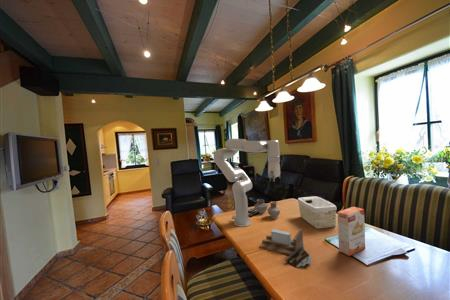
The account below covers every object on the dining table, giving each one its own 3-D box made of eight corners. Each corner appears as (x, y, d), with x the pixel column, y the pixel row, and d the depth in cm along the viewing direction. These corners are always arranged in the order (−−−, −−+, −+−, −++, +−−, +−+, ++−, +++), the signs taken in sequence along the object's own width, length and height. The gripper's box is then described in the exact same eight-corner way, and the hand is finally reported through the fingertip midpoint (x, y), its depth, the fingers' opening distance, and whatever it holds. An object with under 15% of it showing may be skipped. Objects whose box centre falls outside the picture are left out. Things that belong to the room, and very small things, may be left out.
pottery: (274, 221, 141) (273, 205, 140) (251, 212, 162) (250, 198, 161) (284, 217, 147) (283, 202, 146) (261, 209, 168) (260, 195, 167)
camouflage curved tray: (294, 272, 86) (311, 251, 87) (283, 260, 92) (299, 241, 93) (303, 278, 90) (319, 258, 91) (292, 266, 97) (307, 247, 97)
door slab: (271, 243, 109) (271, 231, 108) (273, 240, 111) (273, 229, 111) (289, 247, 103) (288, 235, 103) (291, 245, 105) (290, 232, 105)
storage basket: (339, 227, 124) (337, 205, 124) (315, 230, 123) (314, 207, 122) (317, 214, 148) (316, 195, 148) (297, 216, 146) (296, 197, 146)
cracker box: (350, 257, 93) (348, 214, 92) (338, 251, 98) (336, 211, 98) (366, 248, 99) (364, 208, 98) (354, 243, 105) (352, 205, 104)
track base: (259, 247, 107) (258, 231, 107) (269, 236, 119) (268, 222, 118) (296, 257, 96) (295, 239, 95) (303, 244, 107) (302, 228, 107)
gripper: (273, 158, 131) (274, 182, 132) (262, 160, 117) (264, 188, 118) (284, 158, 127) (285, 183, 127) (274, 160, 113) (276, 189, 113)
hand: (275, 185), depth 122 cm, fingers open, 9 cm apart
